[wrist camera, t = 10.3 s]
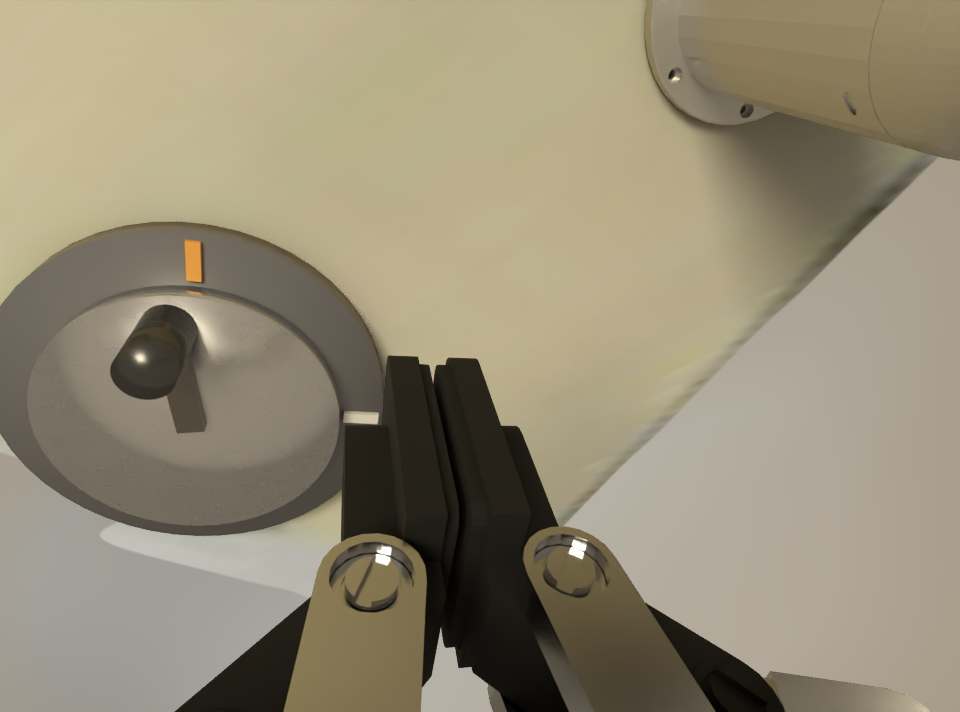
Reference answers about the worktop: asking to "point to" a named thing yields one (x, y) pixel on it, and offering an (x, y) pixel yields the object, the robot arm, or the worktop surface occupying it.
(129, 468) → the dial
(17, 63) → the worktop surface
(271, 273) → the dial base
